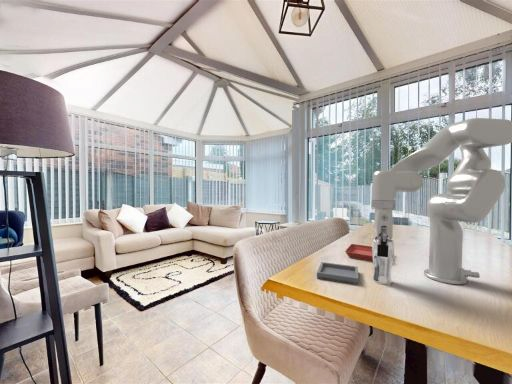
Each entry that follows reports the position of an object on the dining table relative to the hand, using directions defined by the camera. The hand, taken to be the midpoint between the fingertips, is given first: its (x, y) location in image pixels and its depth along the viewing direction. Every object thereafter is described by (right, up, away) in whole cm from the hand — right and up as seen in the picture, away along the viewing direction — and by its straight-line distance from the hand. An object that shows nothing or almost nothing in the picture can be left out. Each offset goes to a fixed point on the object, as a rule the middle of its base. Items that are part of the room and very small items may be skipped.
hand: (380, 252), depth 82 cm
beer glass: (+1, -11, 0) cm, 10 cm away
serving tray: (-13, -10, +6) cm, 18 cm away
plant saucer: (+10, -10, +31) cm, 34 cm away
